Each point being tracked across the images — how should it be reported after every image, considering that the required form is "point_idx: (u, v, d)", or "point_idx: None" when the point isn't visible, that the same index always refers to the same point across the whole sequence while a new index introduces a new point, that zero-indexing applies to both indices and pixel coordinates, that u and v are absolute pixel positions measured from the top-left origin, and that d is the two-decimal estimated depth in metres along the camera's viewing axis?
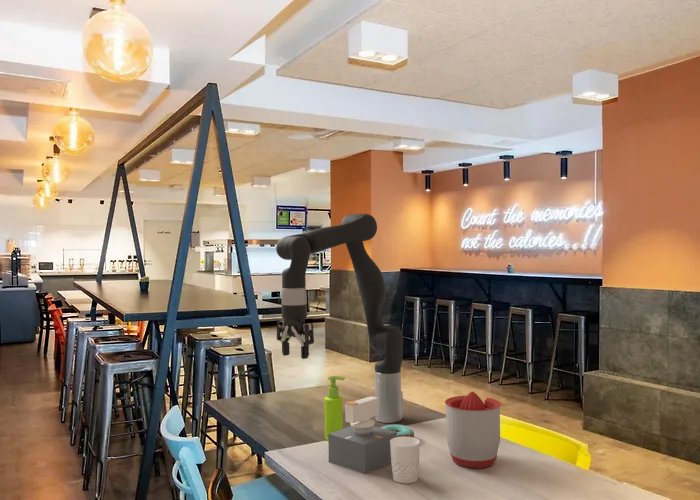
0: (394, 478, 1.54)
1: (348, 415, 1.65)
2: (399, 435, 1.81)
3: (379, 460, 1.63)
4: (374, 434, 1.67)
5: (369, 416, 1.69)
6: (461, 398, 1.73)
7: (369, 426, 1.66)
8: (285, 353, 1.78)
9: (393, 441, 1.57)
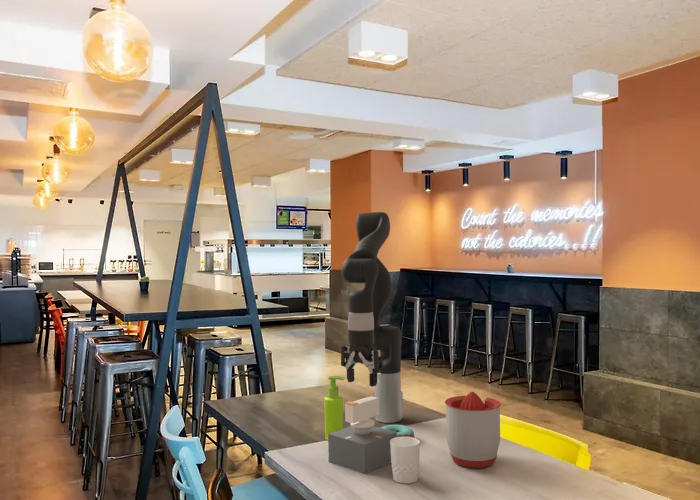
0: (394, 478, 1.54)
1: (348, 415, 1.65)
2: (399, 435, 1.81)
3: (379, 460, 1.63)
4: (374, 434, 1.67)
5: (369, 416, 1.69)
6: (461, 398, 1.73)
7: (369, 426, 1.66)
8: (350, 380, 1.71)
9: (393, 441, 1.57)
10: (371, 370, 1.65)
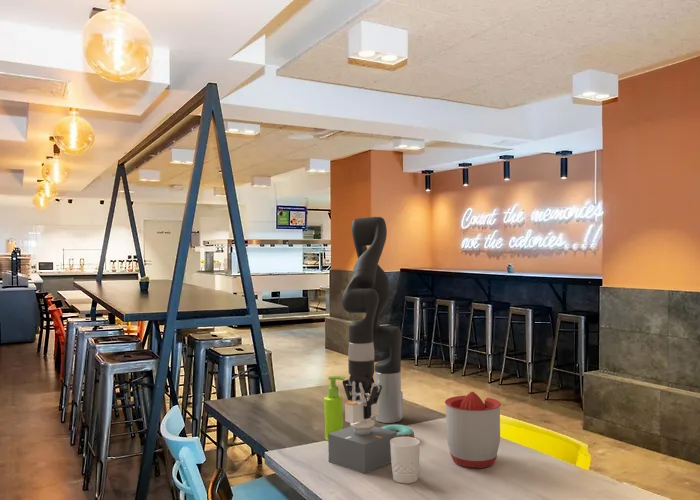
0: (394, 478, 1.54)
1: (348, 415, 1.65)
2: (399, 435, 1.81)
3: (379, 460, 1.63)
4: (374, 434, 1.67)
5: None
6: (461, 398, 1.73)
7: (369, 426, 1.66)
8: None
9: (393, 441, 1.57)
10: (365, 403, 1.66)
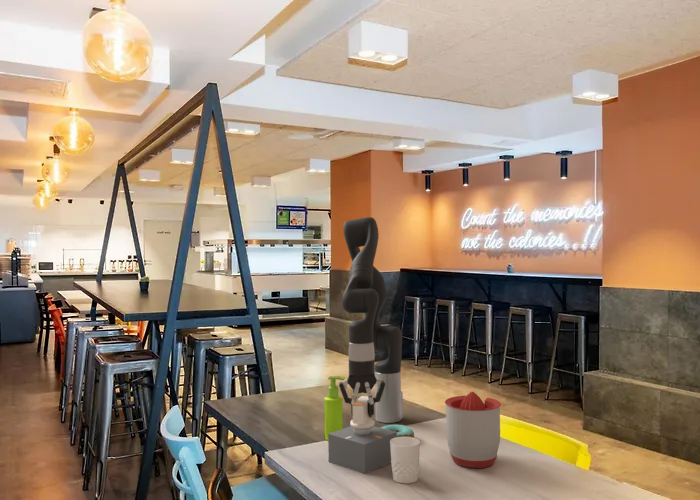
0: (394, 478, 1.54)
1: (356, 417, 1.63)
2: (399, 435, 1.81)
3: (379, 460, 1.63)
4: (374, 434, 1.67)
5: (368, 415, 1.70)
6: (461, 398, 1.73)
7: (373, 425, 1.67)
8: None
9: (393, 441, 1.57)
10: (372, 401, 1.68)
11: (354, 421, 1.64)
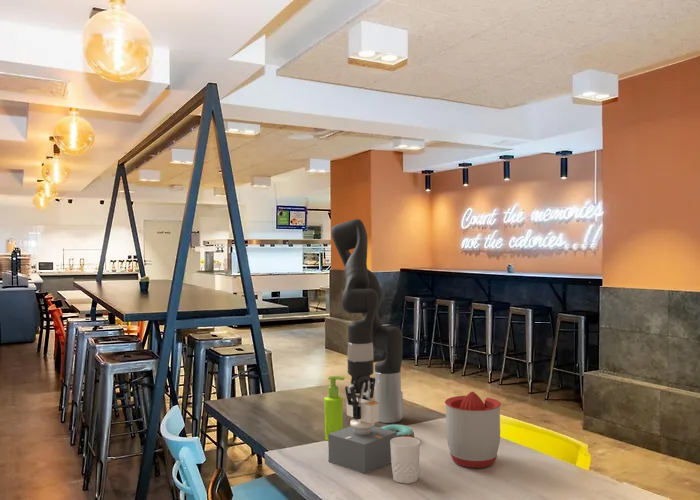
0: (394, 478, 1.54)
1: (373, 416, 1.64)
2: (399, 435, 1.81)
3: (379, 460, 1.63)
4: (374, 434, 1.67)
5: None
6: (461, 398, 1.73)
7: None
8: None
9: (393, 441, 1.57)
10: (369, 398, 1.71)
11: (371, 421, 1.64)
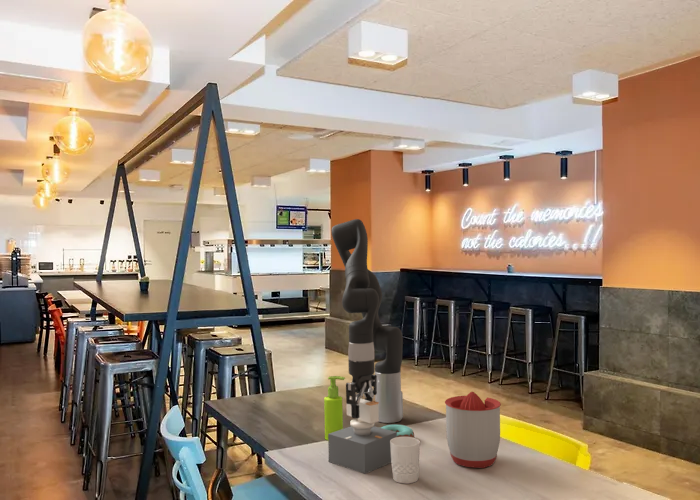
0: (394, 478, 1.54)
1: (373, 416, 1.64)
2: (399, 435, 1.81)
3: (379, 460, 1.63)
4: (374, 434, 1.67)
5: None
6: (461, 398, 1.73)
7: None
8: None
9: (393, 441, 1.57)
10: (373, 395, 1.72)
11: (371, 421, 1.64)
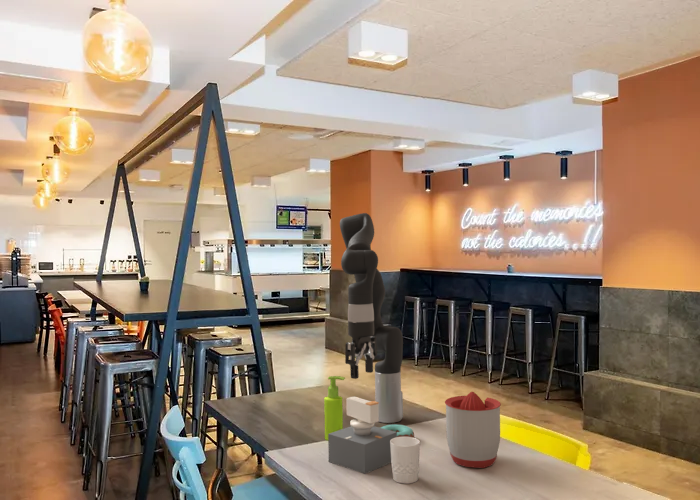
0: (394, 478, 1.54)
1: (373, 416, 1.64)
2: (400, 435, 1.81)
3: (379, 460, 1.63)
4: (374, 434, 1.67)
5: None
6: (461, 398, 1.73)
7: None
8: None
9: (393, 441, 1.57)
10: (373, 356, 1.72)
11: (371, 421, 1.64)
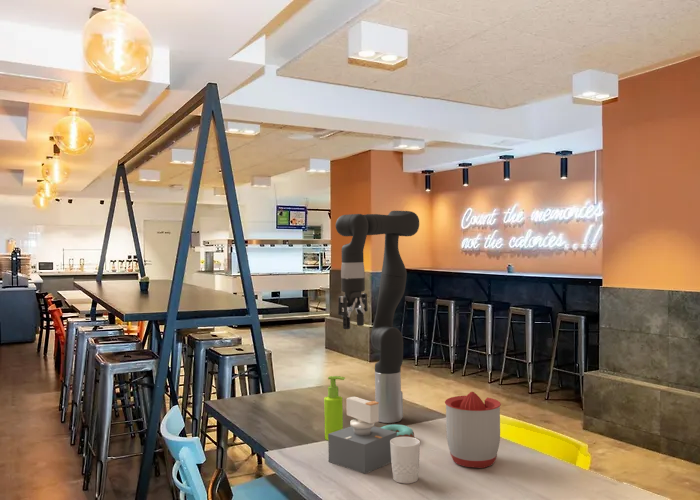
0: (394, 478, 1.54)
1: (373, 416, 1.64)
2: (399, 435, 1.81)
3: (379, 460, 1.63)
4: (374, 434, 1.67)
5: None
6: (461, 398, 1.73)
7: None
8: None
9: (393, 441, 1.57)
10: (364, 311, 1.91)
11: (371, 421, 1.64)
